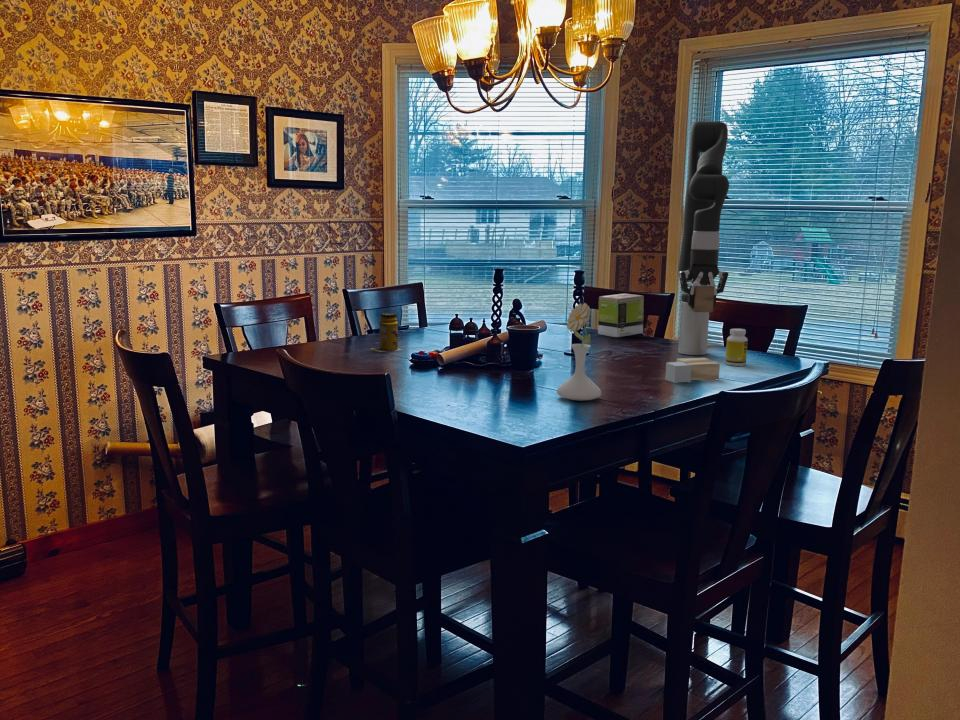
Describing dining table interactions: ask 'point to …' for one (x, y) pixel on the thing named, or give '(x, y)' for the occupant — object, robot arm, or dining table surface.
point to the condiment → (388, 333)
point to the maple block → (702, 368)
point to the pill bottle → (736, 348)
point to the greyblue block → (678, 372)
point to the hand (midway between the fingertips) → (701, 307)
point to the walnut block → (703, 299)
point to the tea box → (620, 315)
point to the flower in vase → (579, 360)
